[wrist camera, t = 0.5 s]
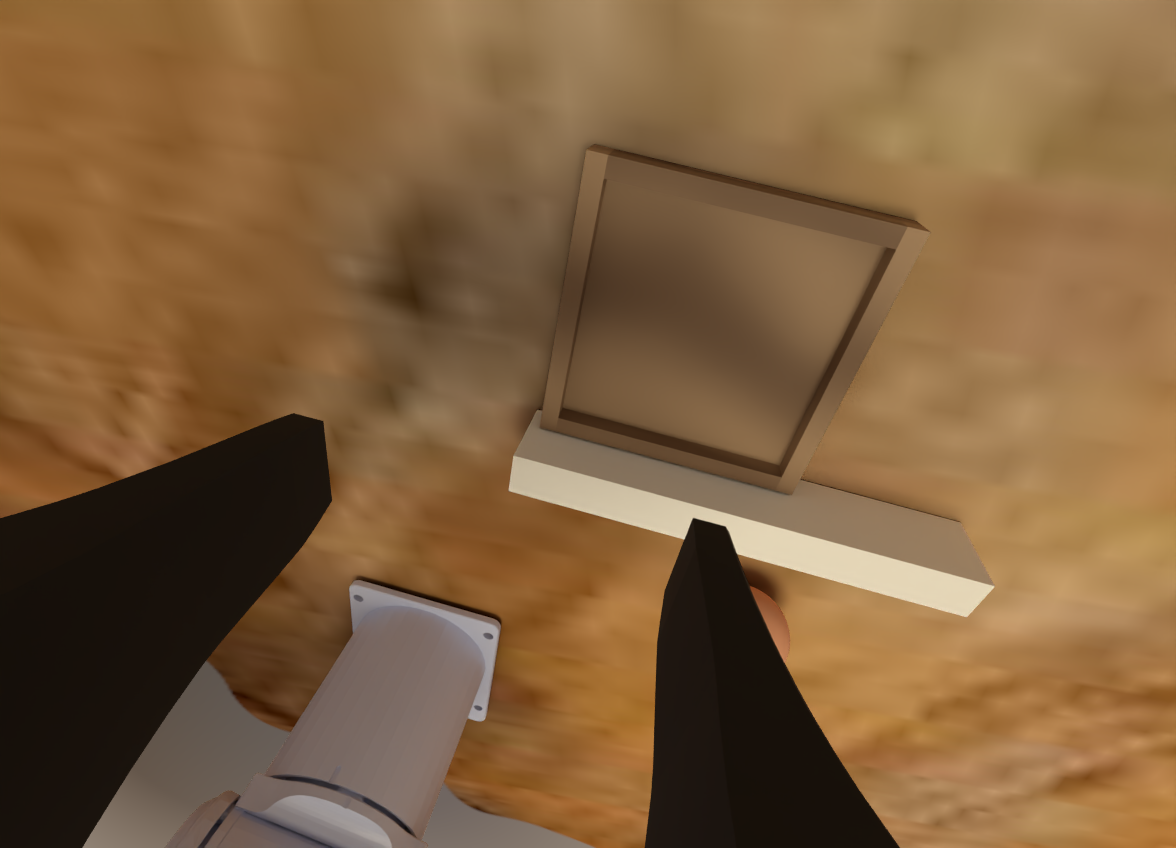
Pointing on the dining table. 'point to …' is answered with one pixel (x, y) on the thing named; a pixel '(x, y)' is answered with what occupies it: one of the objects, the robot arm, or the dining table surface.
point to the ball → (774, 621)
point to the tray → (716, 315)
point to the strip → (762, 519)
